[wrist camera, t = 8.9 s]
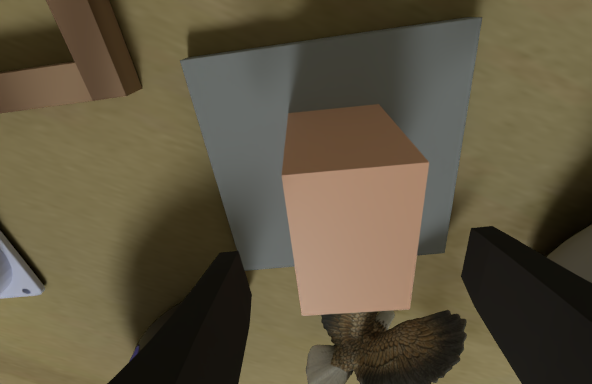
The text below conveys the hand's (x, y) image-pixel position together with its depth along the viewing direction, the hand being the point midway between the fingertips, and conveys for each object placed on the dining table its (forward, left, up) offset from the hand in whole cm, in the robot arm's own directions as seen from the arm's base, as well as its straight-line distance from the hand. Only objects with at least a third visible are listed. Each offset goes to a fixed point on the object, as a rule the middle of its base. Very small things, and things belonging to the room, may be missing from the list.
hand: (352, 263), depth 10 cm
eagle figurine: (+2, -11, -8) cm, 13 cm away
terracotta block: (0, 0, -6) cm, 6 cm away
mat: (0, 0, -7) cm, 7 cm away
